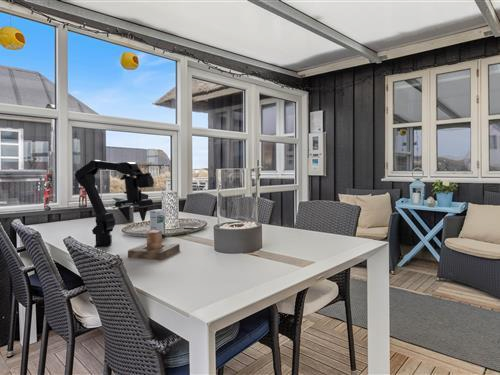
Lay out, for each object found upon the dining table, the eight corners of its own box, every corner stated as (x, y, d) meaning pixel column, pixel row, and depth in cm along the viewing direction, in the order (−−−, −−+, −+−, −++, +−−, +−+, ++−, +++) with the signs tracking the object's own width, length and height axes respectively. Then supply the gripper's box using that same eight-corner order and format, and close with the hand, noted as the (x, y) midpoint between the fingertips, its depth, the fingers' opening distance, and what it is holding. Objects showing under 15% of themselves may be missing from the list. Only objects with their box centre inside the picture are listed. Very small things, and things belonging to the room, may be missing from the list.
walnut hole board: (128, 257, 146) (127, 250, 146) (148, 248, 161) (148, 241, 161) (161, 259, 142) (161, 252, 141) (179, 250, 157) (179, 243, 157)
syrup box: (156, 237, 185) (156, 210, 184) (150, 235, 189) (149, 209, 188) (165, 235, 190) (164, 209, 189) (158, 234, 193) (157, 208, 192)
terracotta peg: (147, 254, 150) (146, 232, 149) (152, 252, 154) (152, 230, 153) (156, 255, 149) (156, 232, 148) (162, 252, 153) (161, 230, 152)
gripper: (158, 185, 165) (162, 217, 167) (129, 187, 173) (133, 217, 175) (142, 188, 155) (146, 222, 157) (112, 190, 163) (116, 222, 165)
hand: (135, 221), depth 163 cm, fingers open, 9 cm apart
